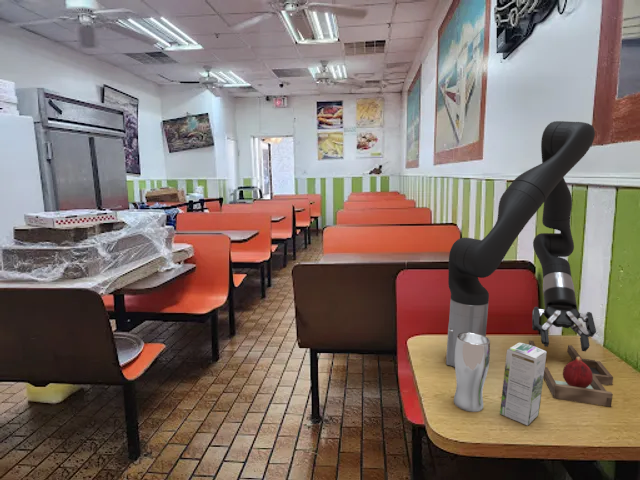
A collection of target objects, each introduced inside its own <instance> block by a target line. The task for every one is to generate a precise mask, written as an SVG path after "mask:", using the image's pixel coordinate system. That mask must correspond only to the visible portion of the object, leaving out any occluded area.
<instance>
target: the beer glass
mask: <svg viewBox="0 0 640 480" xmlns="http://www.w3.org/2000/svg"><path fill="white" fill-rule="evenodd" d="M490 361H491V340H490V338H489V337H487V336H483V335H481V334H476V333H460V334H458V335H457V341H456V347H455V367H454V369H455V370H454V371H455V372H454V373H455V379H456V380H455V381H456V389H455V393H454V397H453V403H454V406H455V407H458V408H459V409H460V410H463V411H465V412H469V413H477V412H480V411H482V410H483V409H484V399H483V398H484V397H483V390H484V385H485V382H486V379H487V375H488V373H489V368H490Z"/></svg>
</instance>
